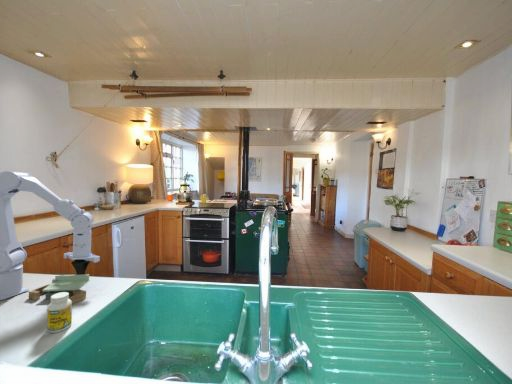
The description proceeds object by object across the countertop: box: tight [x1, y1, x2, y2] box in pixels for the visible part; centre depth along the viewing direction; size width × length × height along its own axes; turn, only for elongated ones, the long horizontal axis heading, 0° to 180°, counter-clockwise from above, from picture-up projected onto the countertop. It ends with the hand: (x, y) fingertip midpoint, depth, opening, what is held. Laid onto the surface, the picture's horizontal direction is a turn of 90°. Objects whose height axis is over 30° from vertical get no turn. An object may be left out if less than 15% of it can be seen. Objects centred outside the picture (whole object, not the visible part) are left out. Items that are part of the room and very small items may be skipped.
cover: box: [43, 273, 90, 292], centre depth 86 cm, size 12×9×3 cm
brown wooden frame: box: [28, 282, 87, 305], centre depth 83 cm, size 17×8×3 cm, turn 75°
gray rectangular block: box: [45, 291, 72, 300], centre depth 83 cm, size 8×2×2 cm, turn 90°
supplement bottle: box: [46, 292, 73, 334], centre depth 67 cm, size 5×5×10 cm
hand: (81, 277), depth 92 cm, fingers closed, pressing on cover
